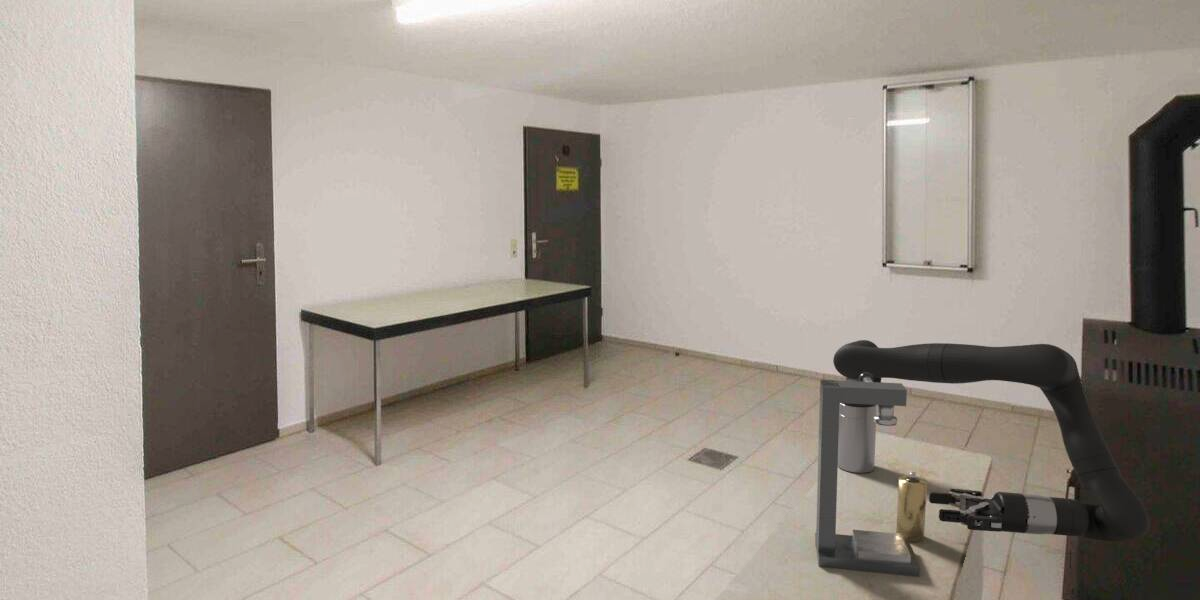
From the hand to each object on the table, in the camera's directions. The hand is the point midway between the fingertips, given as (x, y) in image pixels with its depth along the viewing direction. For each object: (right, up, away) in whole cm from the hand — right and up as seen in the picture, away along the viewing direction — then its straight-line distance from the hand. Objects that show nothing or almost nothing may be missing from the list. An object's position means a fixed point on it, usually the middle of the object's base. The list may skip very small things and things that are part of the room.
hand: (934, 505), depth 138 cm
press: (-16, -8, -3) cm, 18 cm away
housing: (-4, -7, +2) cm, 8 cm away
